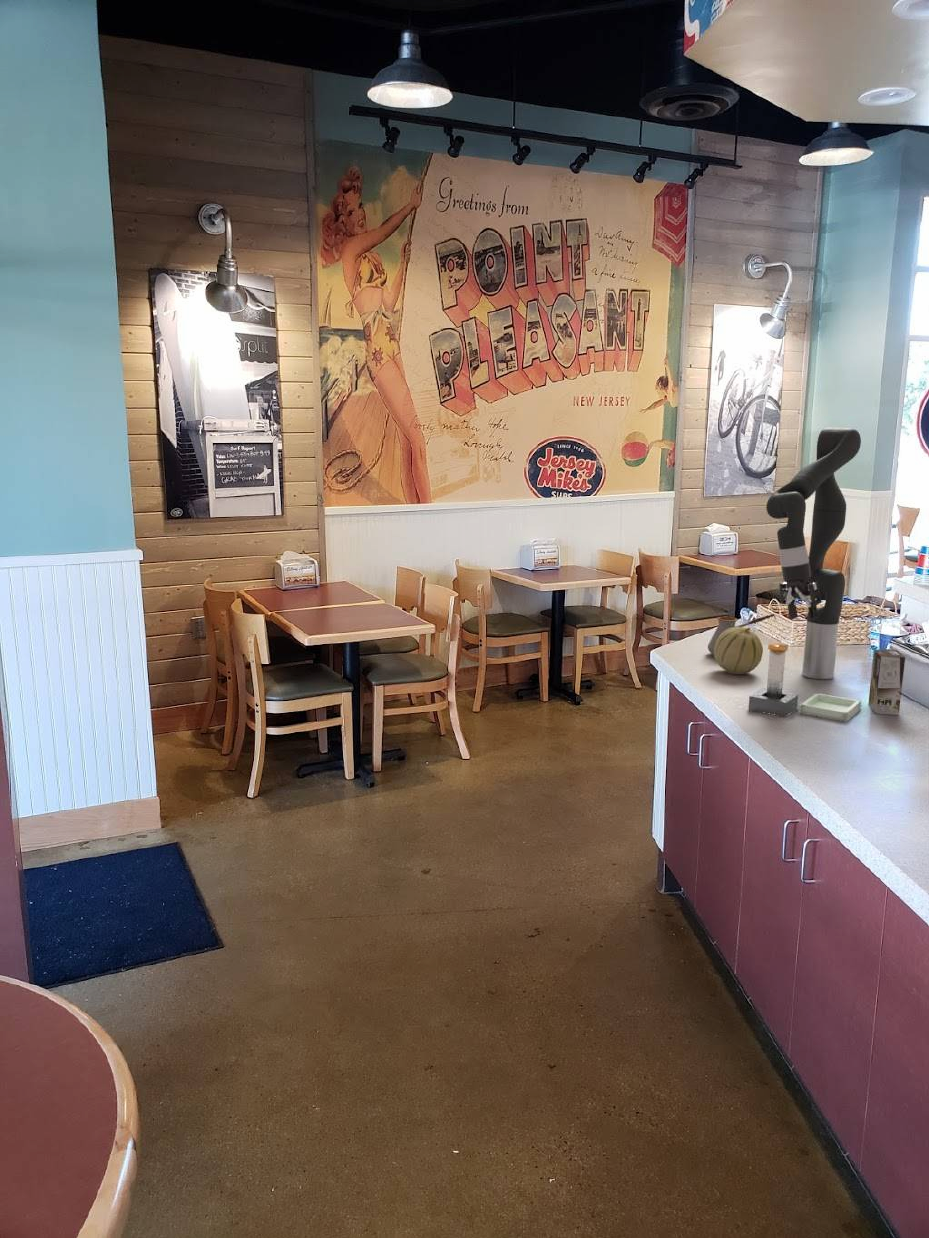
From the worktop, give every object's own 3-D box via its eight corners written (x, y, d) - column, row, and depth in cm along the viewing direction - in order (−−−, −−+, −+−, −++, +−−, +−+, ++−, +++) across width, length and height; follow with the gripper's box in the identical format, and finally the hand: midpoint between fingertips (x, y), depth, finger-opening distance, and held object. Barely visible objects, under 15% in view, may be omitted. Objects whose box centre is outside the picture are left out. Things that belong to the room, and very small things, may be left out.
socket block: (761, 701, 266) (762, 688, 266) (797, 708, 261) (798, 694, 260) (748, 710, 259) (749, 696, 258) (784, 717, 253) (786, 702, 252)
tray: (815, 701, 267) (816, 692, 267) (860, 709, 260) (861, 700, 260) (799, 713, 256) (800, 704, 256) (845, 722, 249) (846, 713, 249)
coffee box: (899, 715, 255) (906, 657, 252) (874, 713, 257) (880, 656, 253) (891, 705, 264) (898, 649, 261) (867, 704, 265) (873, 648, 262)
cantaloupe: (717, 665, 306) (720, 619, 302) (764, 670, 299) (768, 624, 296) (707, 675, 293) (710, 628, 289) (756, 682, 286) (760, 633, 283)
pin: (767, 705, 263) (772, 642, 259) (785, 708, 260) (790, 645, 256) (760, 709, 259) (765, 645, 255) (778, 713, 256) (784, 648, 252)
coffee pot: (709, 659, 312) (712, 615, 309) (705, 651, 323) (707, 608, 320) (776, 662, 310) (779, 617, 306) (769, 653, 321) (773, 610, 318)
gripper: (822, 559, 262) (831, 617, 264) (789, 560, 276) (797, 614, 278) (800, 565, 260) (809, 623, 262) (768, 565, 273) (776, 620, 275)
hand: (803, 618), depth 270 cm, fingers open, 8 cm apart
